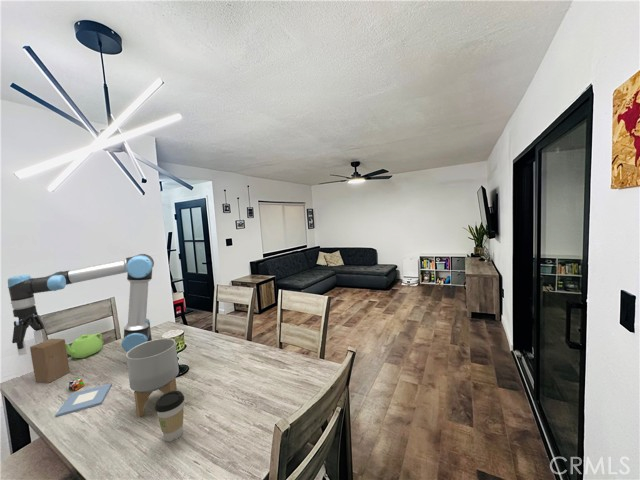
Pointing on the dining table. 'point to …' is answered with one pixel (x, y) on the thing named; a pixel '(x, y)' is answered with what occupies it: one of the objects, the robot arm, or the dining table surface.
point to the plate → (84, 399)
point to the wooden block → (49, 360)
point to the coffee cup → (170, 414)
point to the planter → (152, 369)
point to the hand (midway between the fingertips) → (31, 348)
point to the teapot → (85, 346)
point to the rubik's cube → (75, 384)
